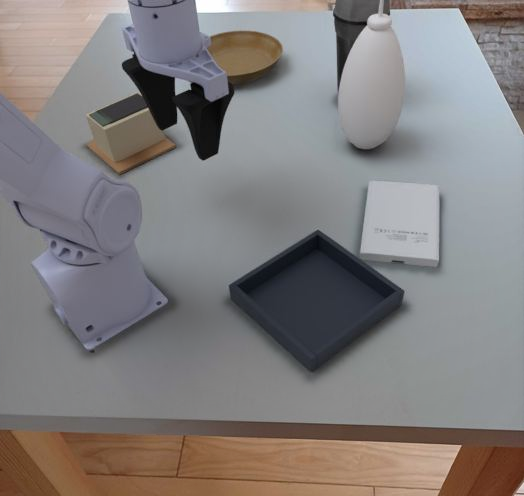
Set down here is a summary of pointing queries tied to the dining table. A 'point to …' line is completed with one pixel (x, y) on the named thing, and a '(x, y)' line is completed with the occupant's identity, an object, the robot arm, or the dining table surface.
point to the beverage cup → (352, 25)
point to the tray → (315, 298)
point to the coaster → (136, 158)
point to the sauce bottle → (372, 84)
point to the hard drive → (401, 223)
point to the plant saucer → (245, 54)
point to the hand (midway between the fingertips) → (187, 140)
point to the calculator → (124, 128)
